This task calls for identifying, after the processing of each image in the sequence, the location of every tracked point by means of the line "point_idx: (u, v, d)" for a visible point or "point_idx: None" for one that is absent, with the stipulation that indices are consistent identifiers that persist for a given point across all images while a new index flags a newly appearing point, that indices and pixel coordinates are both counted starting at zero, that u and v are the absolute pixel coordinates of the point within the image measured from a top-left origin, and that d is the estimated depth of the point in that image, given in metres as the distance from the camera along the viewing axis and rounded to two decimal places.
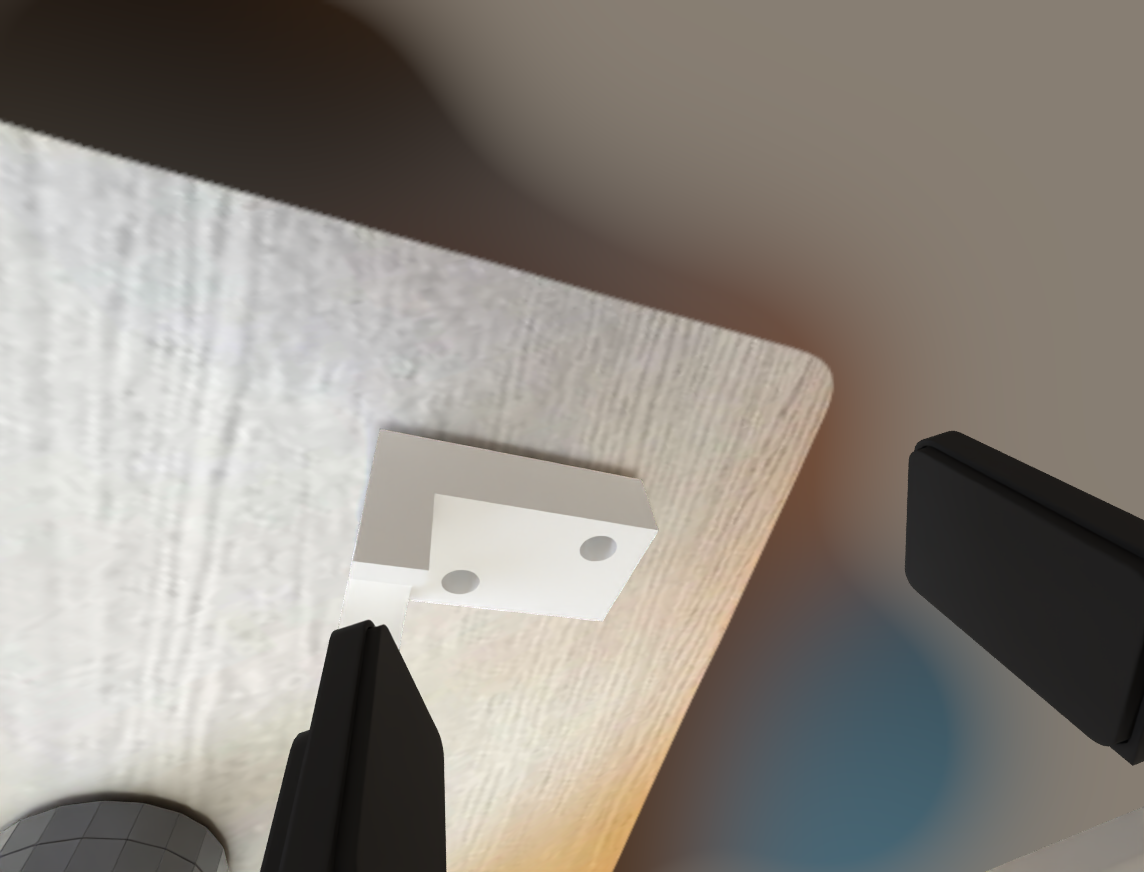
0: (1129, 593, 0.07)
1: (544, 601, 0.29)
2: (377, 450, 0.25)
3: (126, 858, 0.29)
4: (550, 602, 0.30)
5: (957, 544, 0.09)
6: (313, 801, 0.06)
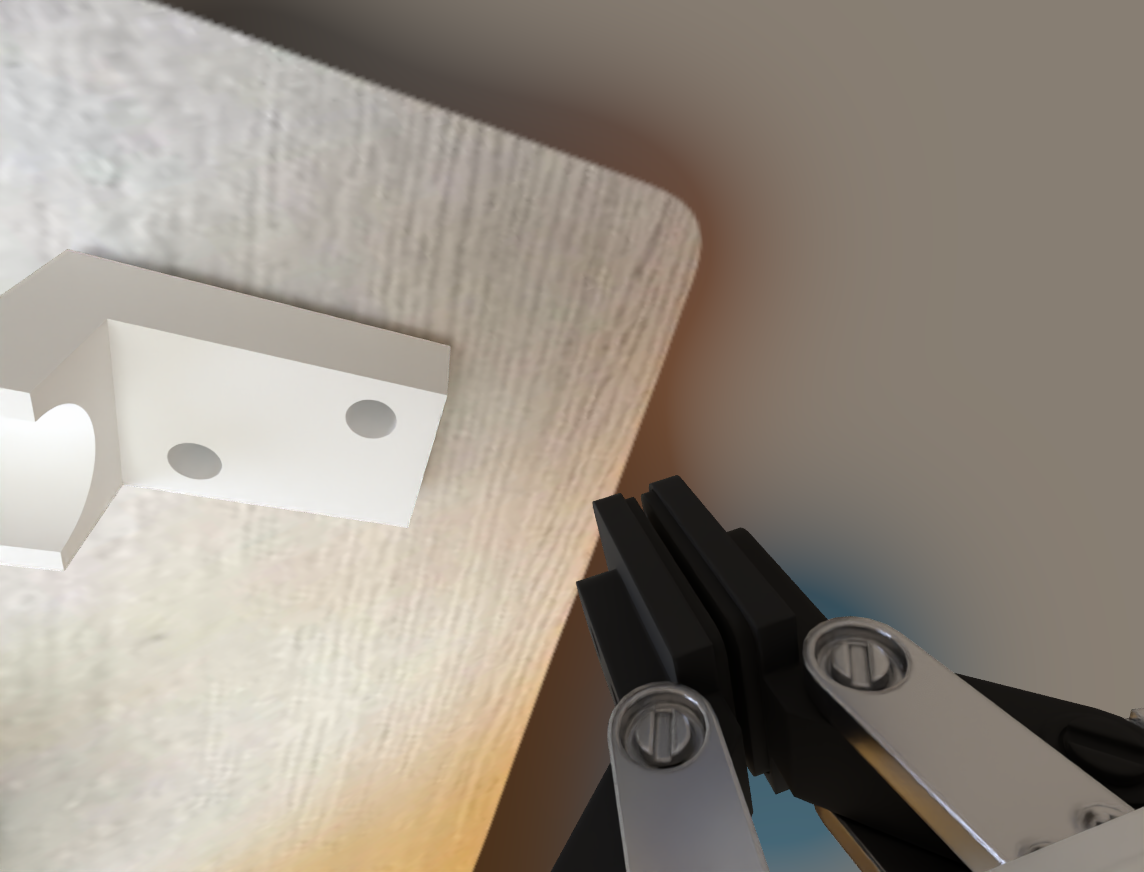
0: (731, 640, 0.07)
1: (320, 495, 0.23)
2: (44, 267, 0.19)
3: None
4: (329, 497, 0.23)
5: None
6: (660, 596, 0.08)
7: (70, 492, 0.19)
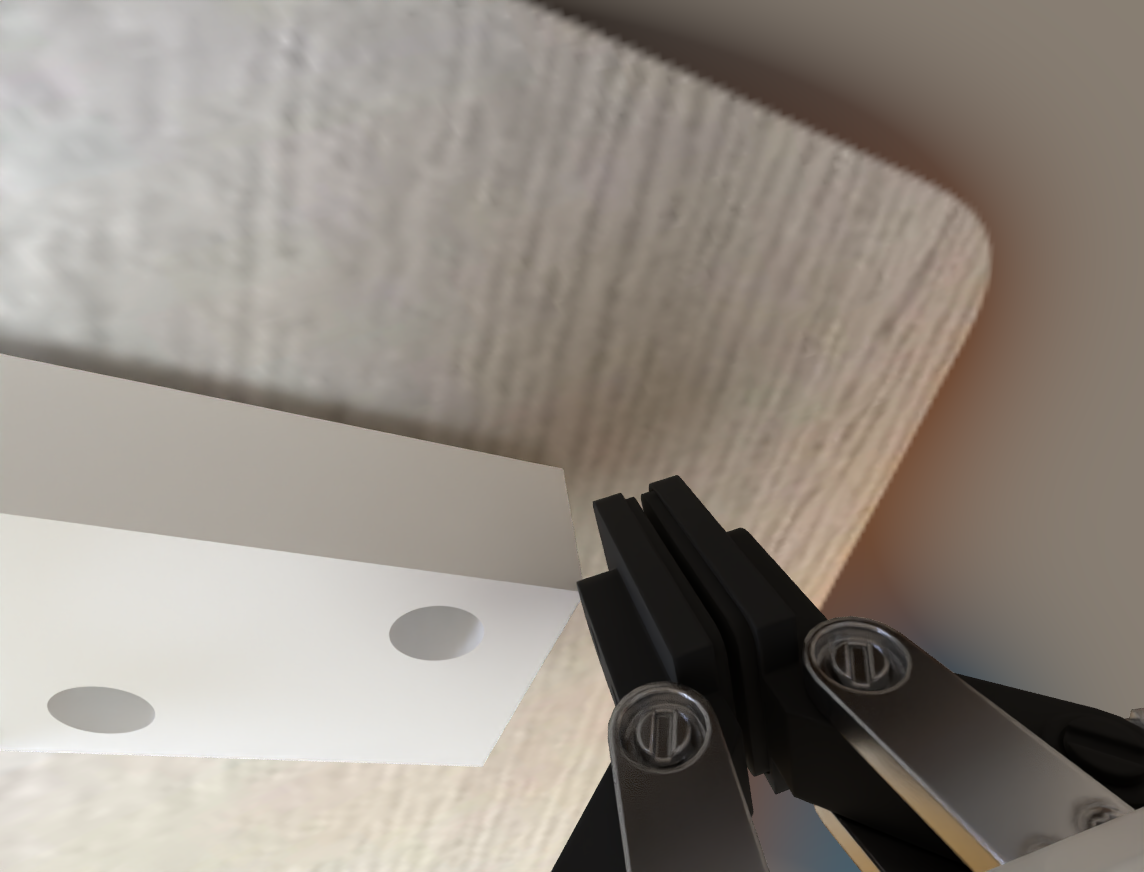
0: (731, 640, 0.07)
1: (336, 739, 0.13)
2: None
3: None
4: (352, 740, 0.13)
5: None
6: (660, 596, 0.08)
7: None
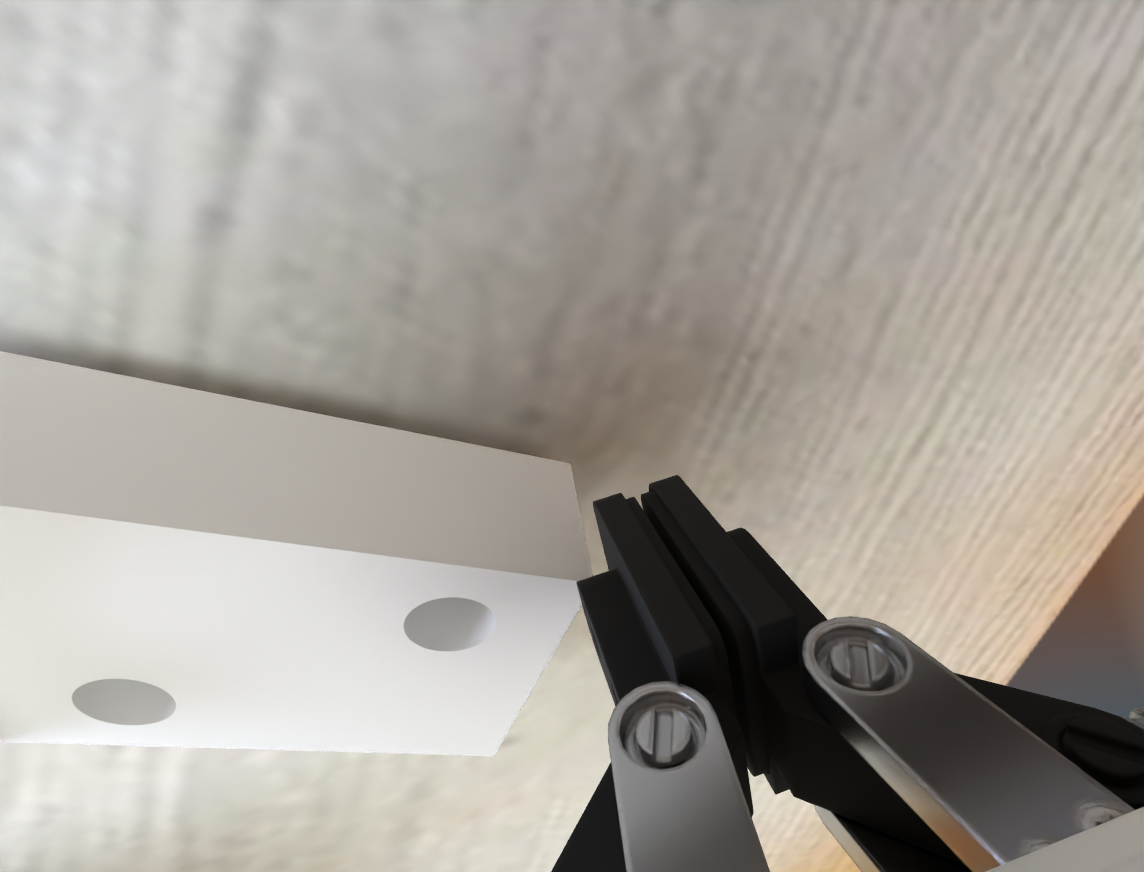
0: (731, 640, 0.07)
1: (352, 729, 0.13)
2: None
3: None
4: (367, 731, 0.14)
5: None
6: (660, 596, 0.08)
7: None
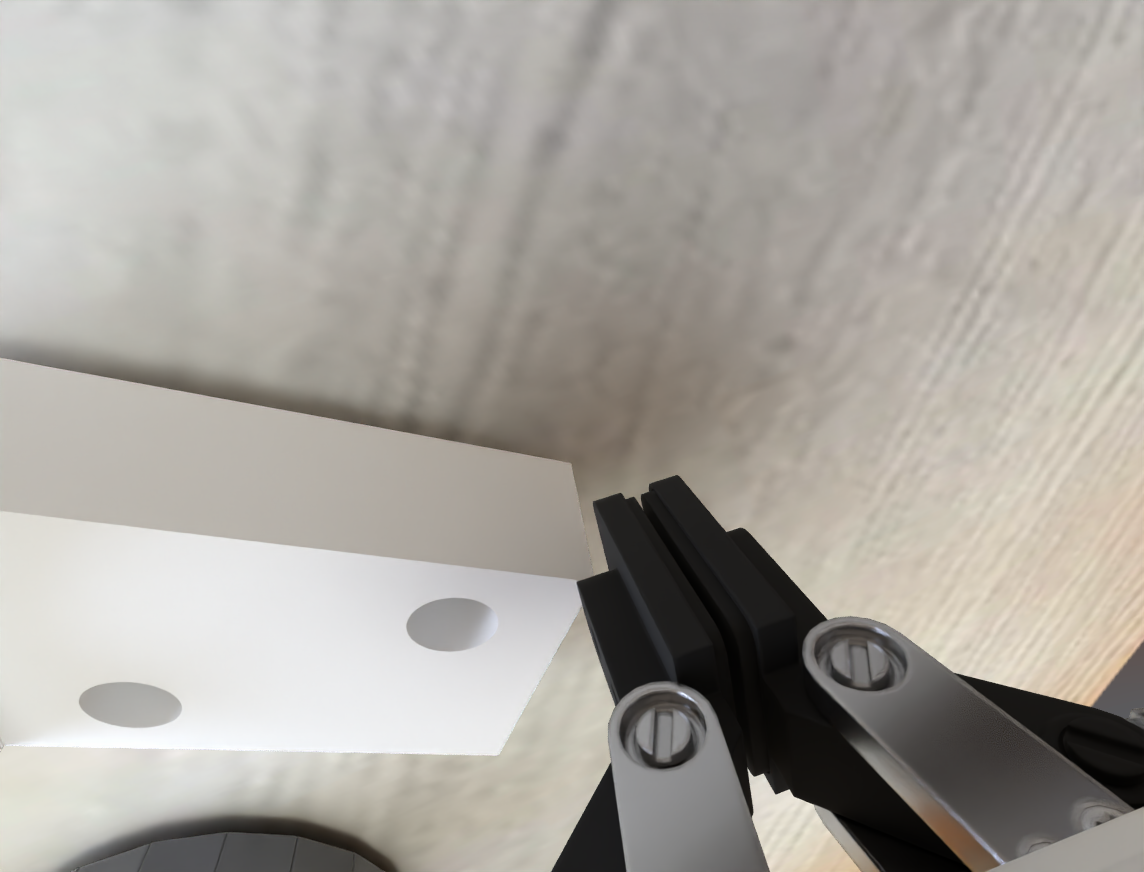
0: (731, 640, 0.07)
1: (356, 730, 0.14)
2: None
3: None
4: (372, 731, 0.14)
5: None
6: (660, 596, 0.08)
7: None
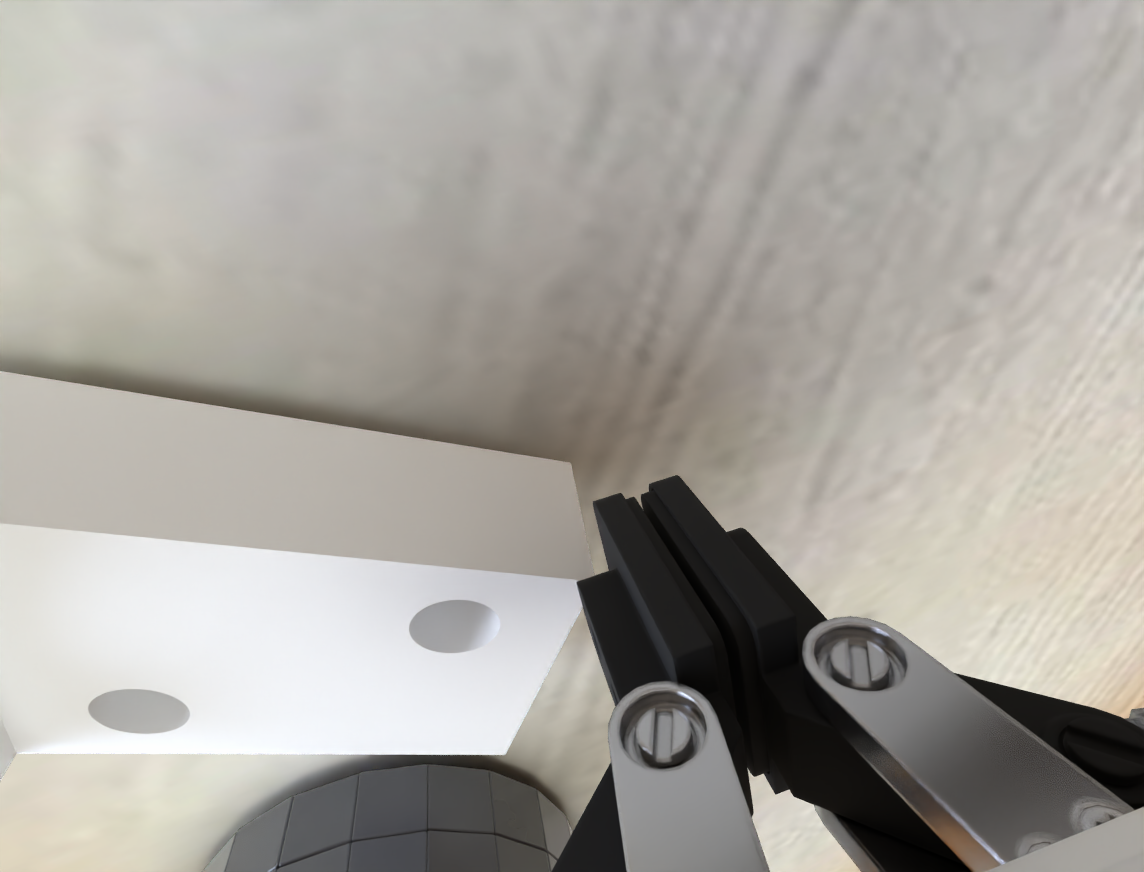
0: (731, 640, 0.07)
1: (363, 732, 0.14)
2: None
3: (508, 869, 0.16)
4: (378, 733, 0.14)
5: None
6: (660, 596, 0.08)
7: None
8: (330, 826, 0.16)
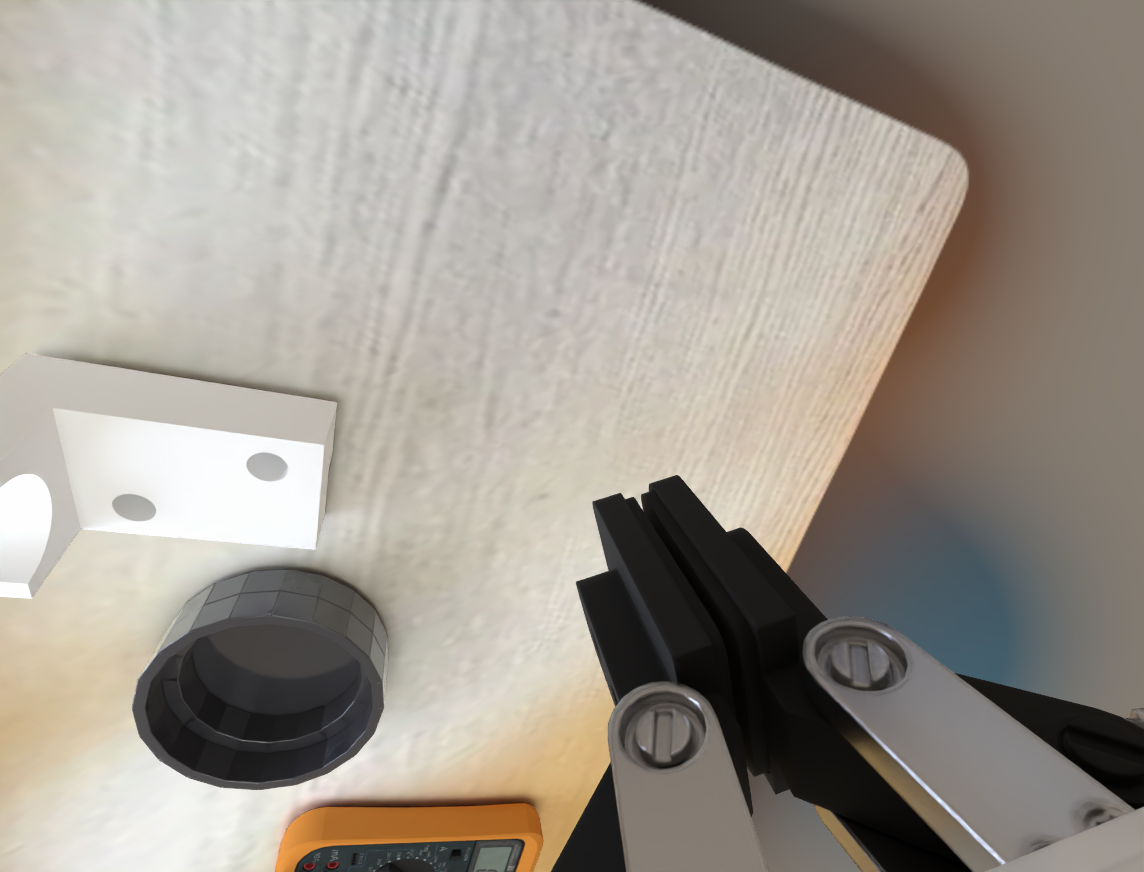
0: (731, 640, 0.07)
1: (238, 527, 0.29)
2: (7, 371, 0.25)
3: (321, 610, 0.31)
4: (246, 529, 0.29)
5: None
6: (660, 596, 0.08)
7: (34, 538, 0.25)
8: (231, 590, 0.31)
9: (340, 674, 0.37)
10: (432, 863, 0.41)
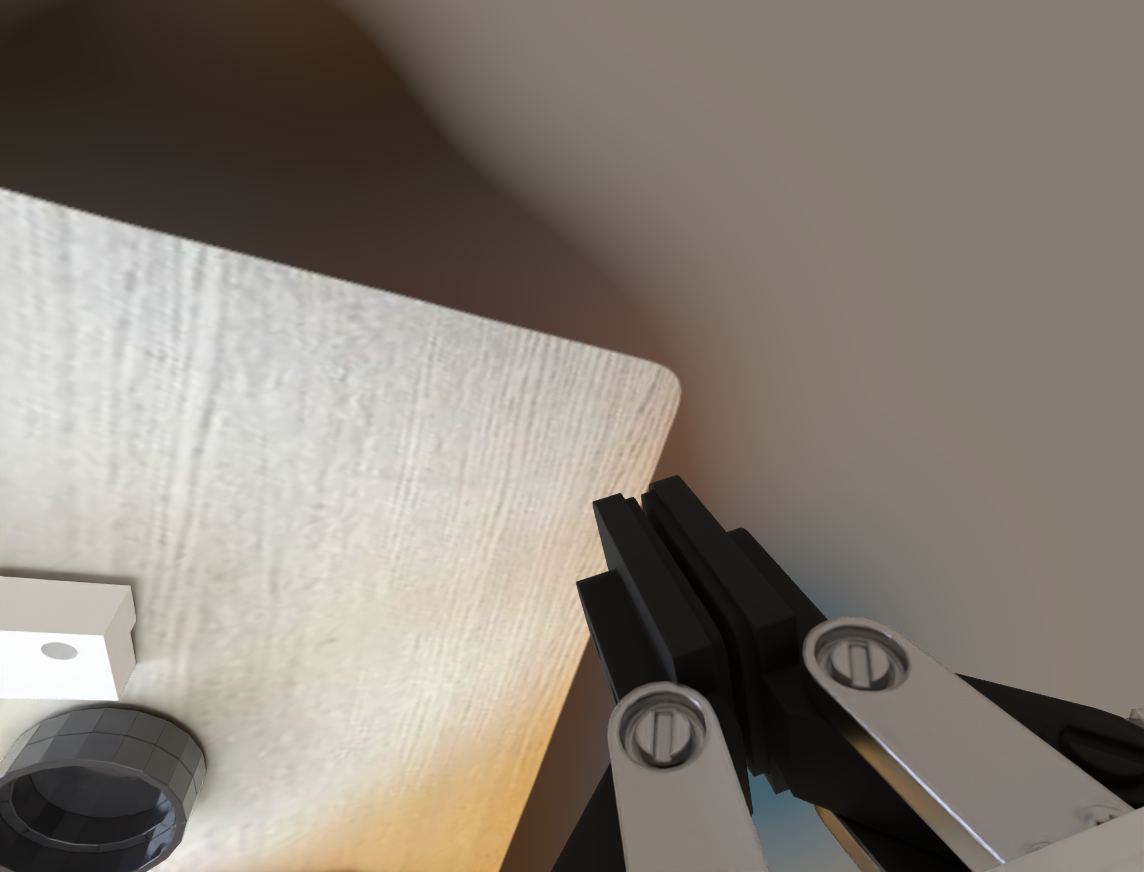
0: (731, 640, 0.07)
1: (47, 689, 0.36)
2: None
3: (125, 748, 0.38)
4: (53, 690, 0.36)
5: None
6: (660, 596, 0.08)
7: None
8: (51, 731, 0.38)
9: None
10: None
